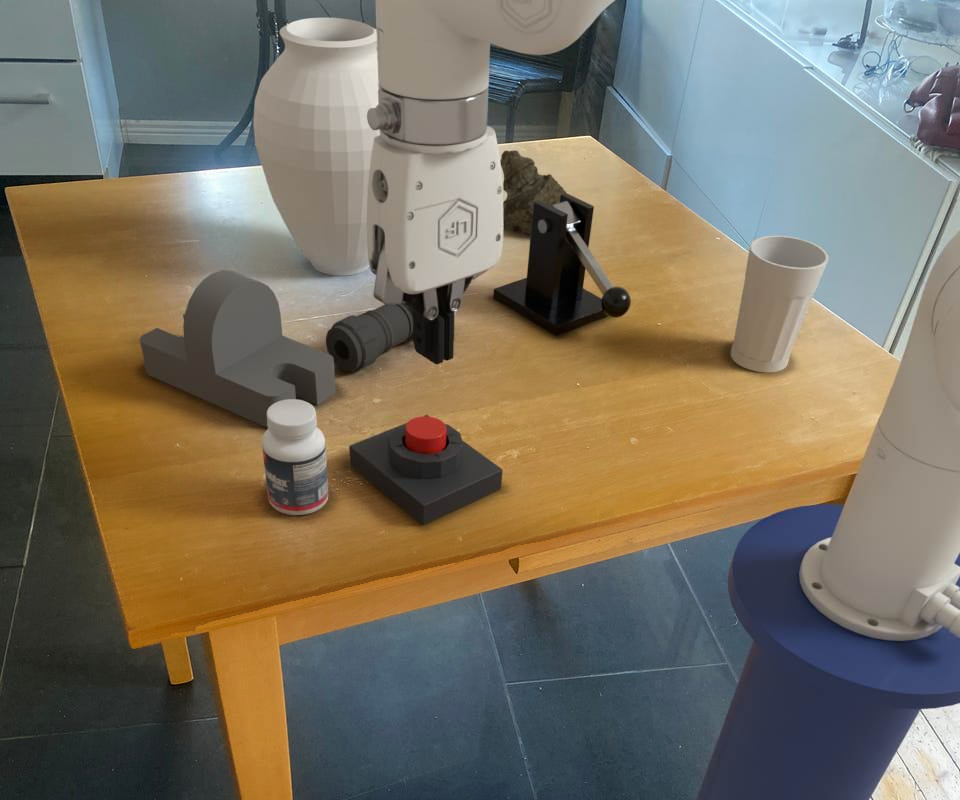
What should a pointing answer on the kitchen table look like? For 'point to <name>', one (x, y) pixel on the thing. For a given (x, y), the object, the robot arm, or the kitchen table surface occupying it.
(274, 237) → the kitchen table surface
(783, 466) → the kitchen table surface
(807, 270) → the cup
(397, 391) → the kitchen table surface
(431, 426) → the button
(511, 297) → the bracket
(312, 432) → the pill bottle
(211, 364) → the bracket
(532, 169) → the brown rock
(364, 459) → the button block
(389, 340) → the flashlight
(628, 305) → the lever
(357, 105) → the vase
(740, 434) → the kitchen table surface
